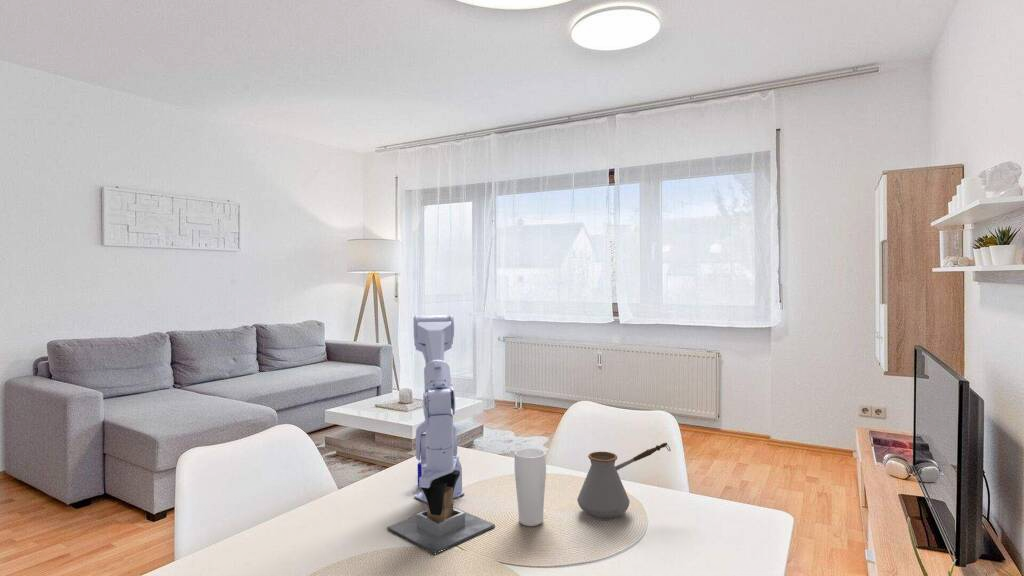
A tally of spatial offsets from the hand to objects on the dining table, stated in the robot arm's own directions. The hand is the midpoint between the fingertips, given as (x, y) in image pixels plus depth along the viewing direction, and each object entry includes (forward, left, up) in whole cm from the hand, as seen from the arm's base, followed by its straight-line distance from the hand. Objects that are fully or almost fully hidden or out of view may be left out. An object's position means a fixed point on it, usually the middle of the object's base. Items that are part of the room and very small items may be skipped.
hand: (440, 509), depth 117 cm
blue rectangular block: (-16, -26, -4) cm, 31 cm away
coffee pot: (-33, +24, -4) cm, 41 cm away
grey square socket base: (0, 0, -4) cm, 4 cm away
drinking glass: (-15, +12, -4) cm, 20 cm away
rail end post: (0, 0, -2) cm, 2 cm away
